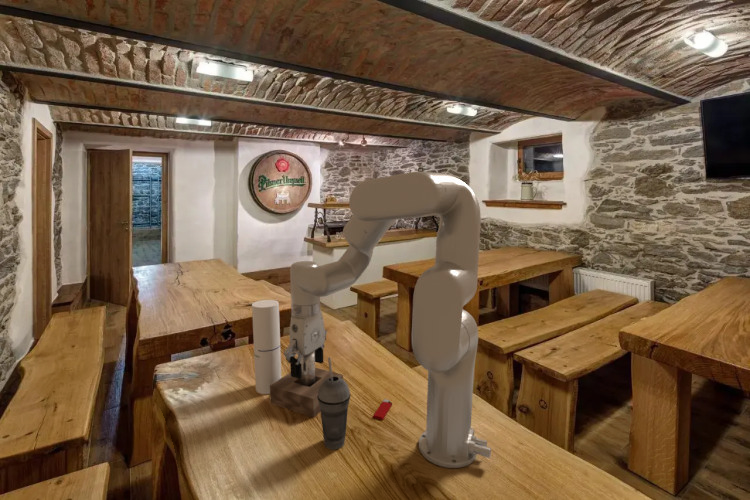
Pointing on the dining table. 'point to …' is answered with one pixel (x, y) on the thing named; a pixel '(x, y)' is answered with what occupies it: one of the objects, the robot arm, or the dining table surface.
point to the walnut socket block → (299, 393)
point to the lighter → (382, 409)
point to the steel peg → (308, 369)
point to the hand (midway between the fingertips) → (307, 369)
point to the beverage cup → (334, 409)
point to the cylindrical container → (266, 344)
